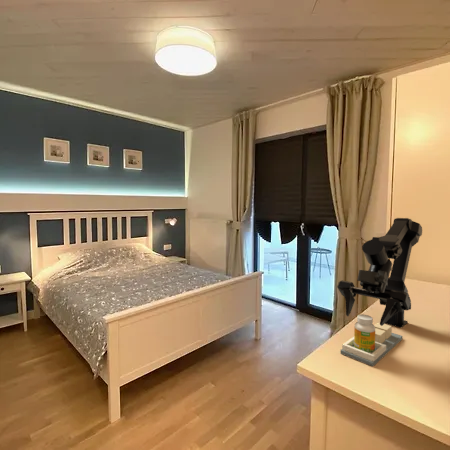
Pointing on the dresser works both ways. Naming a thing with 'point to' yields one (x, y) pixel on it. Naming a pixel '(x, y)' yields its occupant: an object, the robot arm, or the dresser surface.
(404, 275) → the robot arm
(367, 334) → the supplement bottle
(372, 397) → the dresser surface
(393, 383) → the dresser surface
